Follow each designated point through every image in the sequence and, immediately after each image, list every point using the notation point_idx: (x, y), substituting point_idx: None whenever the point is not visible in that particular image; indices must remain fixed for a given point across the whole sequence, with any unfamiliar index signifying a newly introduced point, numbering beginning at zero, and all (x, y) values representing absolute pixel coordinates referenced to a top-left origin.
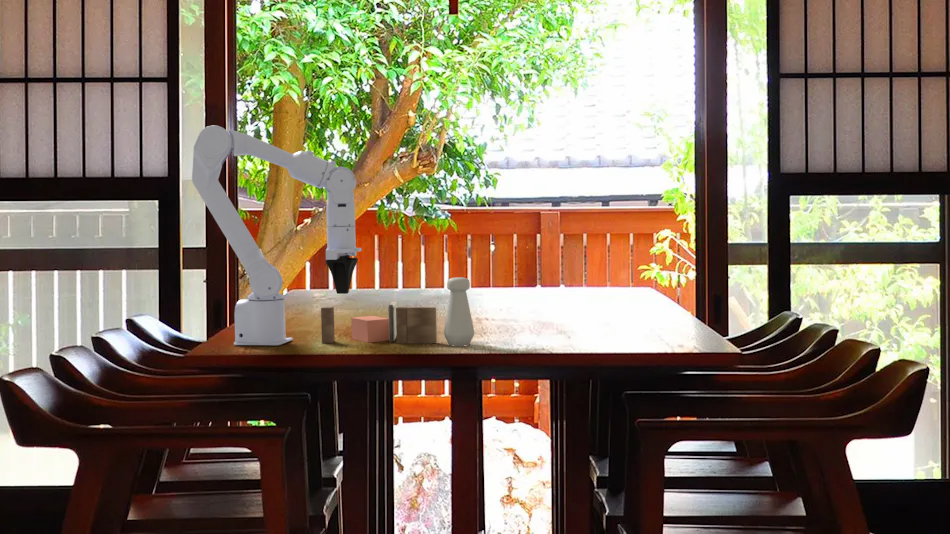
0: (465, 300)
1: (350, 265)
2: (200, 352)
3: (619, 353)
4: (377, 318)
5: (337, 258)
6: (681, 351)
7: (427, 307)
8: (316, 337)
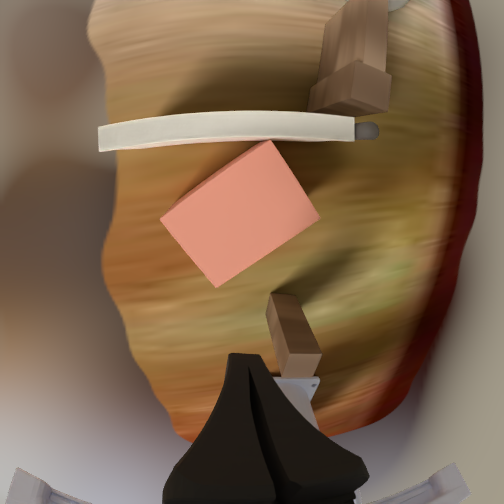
0: None
1: (339, 452)
2: (343, 430)
3: None
4: (251, 188)
5: (383, 498)
6: None
7: (375, 5)
8: (188, 343)
